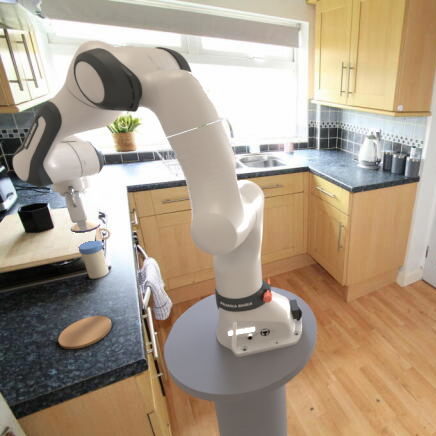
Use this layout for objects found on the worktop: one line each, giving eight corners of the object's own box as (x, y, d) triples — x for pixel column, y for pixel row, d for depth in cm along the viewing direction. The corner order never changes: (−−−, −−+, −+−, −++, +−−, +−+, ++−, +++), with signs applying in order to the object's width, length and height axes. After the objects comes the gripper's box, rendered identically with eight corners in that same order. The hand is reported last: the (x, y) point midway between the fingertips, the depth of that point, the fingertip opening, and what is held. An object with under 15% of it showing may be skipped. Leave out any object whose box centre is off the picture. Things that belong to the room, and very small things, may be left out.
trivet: (119, 316, 87) (118, 314, 87) (97, 347, 77) (97, 345, 77) (76, 319, 86) (75, 316, 86) (48, 350, 76) (47, 348, 76)
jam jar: (112, 268, 109) (104, 241, 105) (103, 278, 104) (95, 250, 99) (94, 269, 108) (86, 242, 104) (85, 279, 103) (75, 250, 99)
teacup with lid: (72, 253, 117) (63, 225, 113) (83, 242, 125) (74, 215, 121) (109, 250, 120) (101, 222, 116) (117, 239, 128) (110, 212, 124)
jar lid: (106, 244, 105) (105, 240, 105) (96, 254, 100) (95, 249, 99) (86, 245, 105) (85, 240, 104) (75, 254, 99) (73, 249, 98)
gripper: (85, 190, 87) (98, 235, 93) (82, 173, 102) (93, 212, 108) (55, 194, 84) (71, 240, 89) (57, 175, 99) (70, 216, 104)
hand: (83, 225), depth 99 cm, fingers open, 7 cm apart
